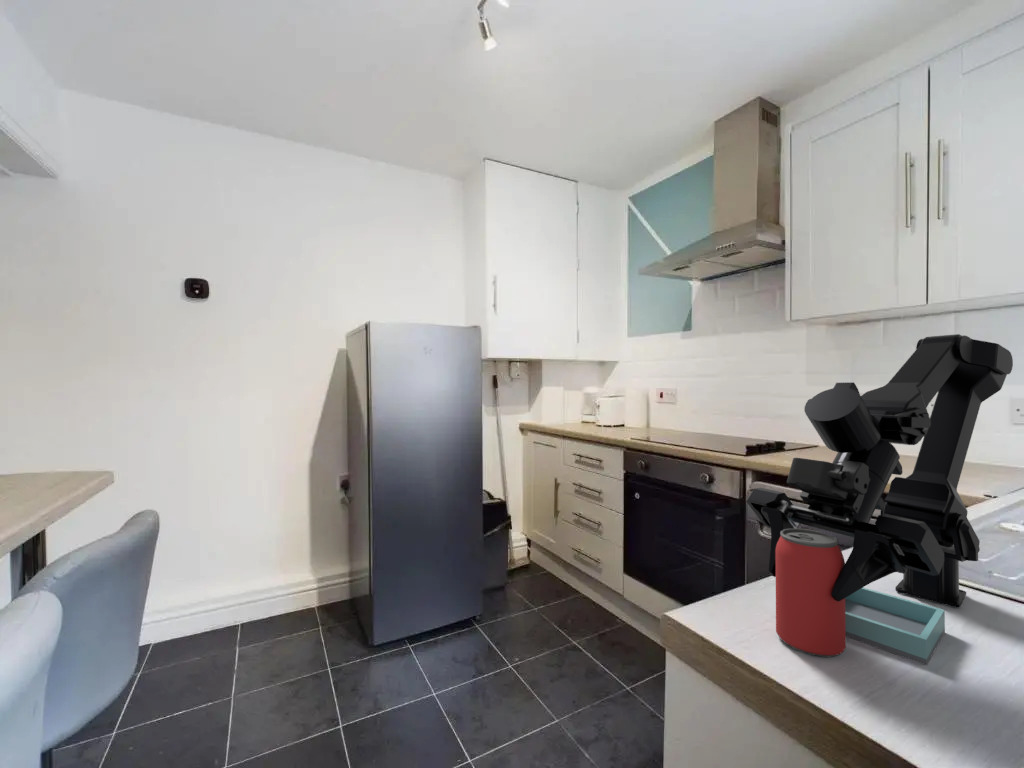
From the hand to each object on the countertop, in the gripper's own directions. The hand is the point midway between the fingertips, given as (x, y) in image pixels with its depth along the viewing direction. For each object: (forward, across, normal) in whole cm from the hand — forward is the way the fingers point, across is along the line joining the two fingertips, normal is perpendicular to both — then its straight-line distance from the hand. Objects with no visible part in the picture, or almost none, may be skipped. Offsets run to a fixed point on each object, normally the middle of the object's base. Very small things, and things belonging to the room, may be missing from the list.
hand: (801, 585), depth 50 cm
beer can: (+4, 0, +6) cm, 7 cm away
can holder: (-4, +2, +13) cm, 14 cm away
